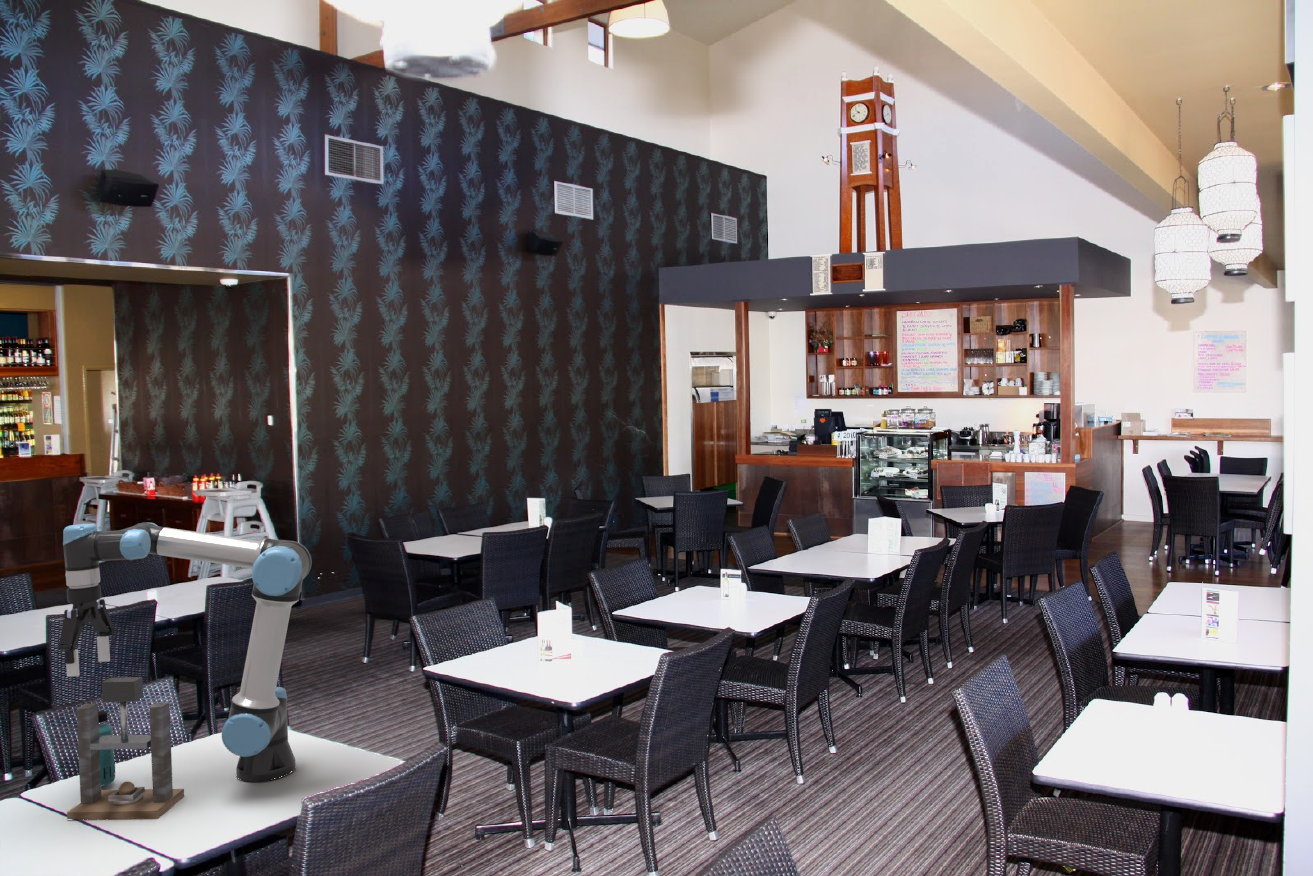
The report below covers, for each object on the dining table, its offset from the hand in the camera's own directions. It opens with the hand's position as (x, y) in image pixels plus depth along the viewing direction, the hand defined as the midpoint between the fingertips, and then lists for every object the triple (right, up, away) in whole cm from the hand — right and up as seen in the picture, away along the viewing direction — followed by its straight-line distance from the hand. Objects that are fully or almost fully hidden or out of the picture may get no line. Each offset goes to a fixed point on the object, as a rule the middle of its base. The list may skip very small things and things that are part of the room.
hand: (89, 668), depth 257 cm
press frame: (+12, -34, -3) cm, 36 cm away
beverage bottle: (-3, -34, +10) cm, 36 cm away
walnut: (+11, -29, -4) cm, 32 cm away
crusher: (+11, -18, -4) cm, 22 cm away
